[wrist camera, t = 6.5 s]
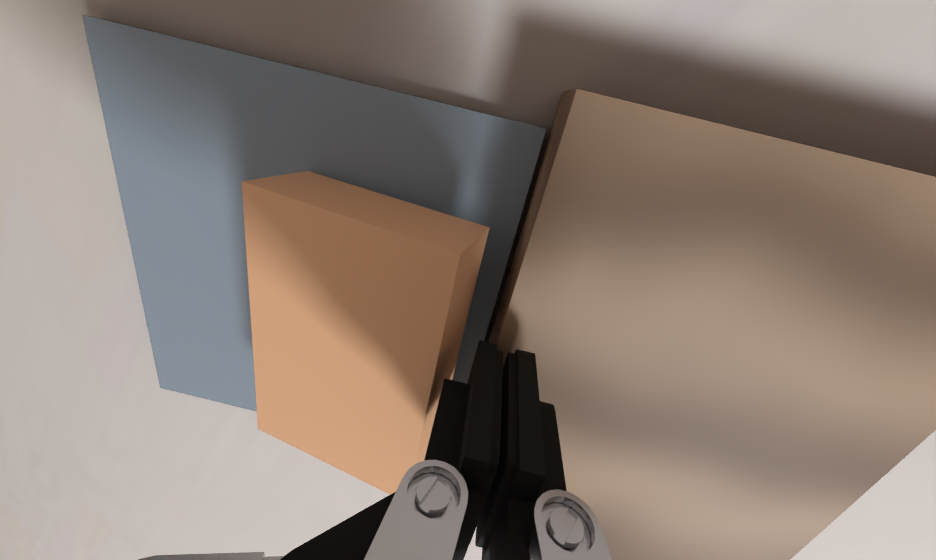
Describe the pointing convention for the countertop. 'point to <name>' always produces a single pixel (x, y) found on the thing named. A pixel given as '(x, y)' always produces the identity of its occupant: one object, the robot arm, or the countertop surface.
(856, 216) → the stand
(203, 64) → the mat
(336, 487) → the countertop surface
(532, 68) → the countertop surface
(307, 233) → the tile
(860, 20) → the countertop surface
